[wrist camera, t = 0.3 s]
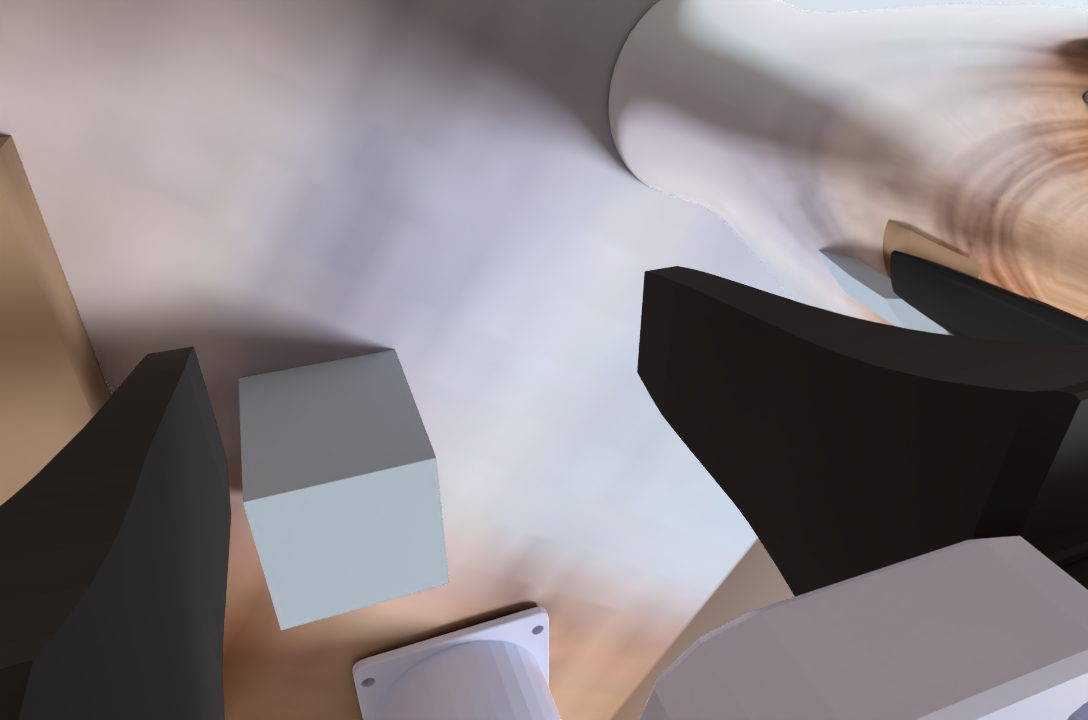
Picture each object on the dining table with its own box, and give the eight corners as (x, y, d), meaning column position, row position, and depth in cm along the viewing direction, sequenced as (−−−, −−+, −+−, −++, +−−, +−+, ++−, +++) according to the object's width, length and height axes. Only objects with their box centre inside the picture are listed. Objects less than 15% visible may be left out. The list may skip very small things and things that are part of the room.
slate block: (409, 462, 25) (449, 583, 21) (269, 494, 24) (281, 630, 19) (394, 348, 23) (436, 457, 18) (238, 377, 21) (242, 502, 17)
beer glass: (546, 142, 21) (974, 476, 9) (688, -102, 19) (1475, -83, 7) (711, 241, 25) (1167, 569, 13) (843, 46, 23) (1530, 219, 11)
